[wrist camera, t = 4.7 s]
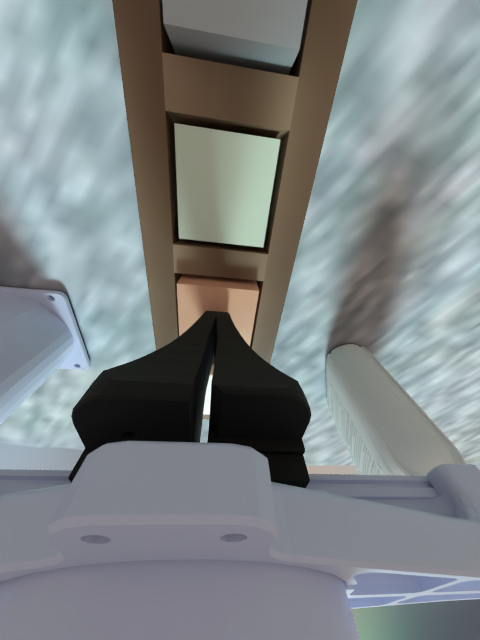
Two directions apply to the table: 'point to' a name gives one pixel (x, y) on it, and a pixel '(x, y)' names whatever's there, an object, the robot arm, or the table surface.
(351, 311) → the table surface
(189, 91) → the keyboard
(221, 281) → the terracotta key
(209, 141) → the sage key
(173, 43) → the slate key
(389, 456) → the white rounded slab
